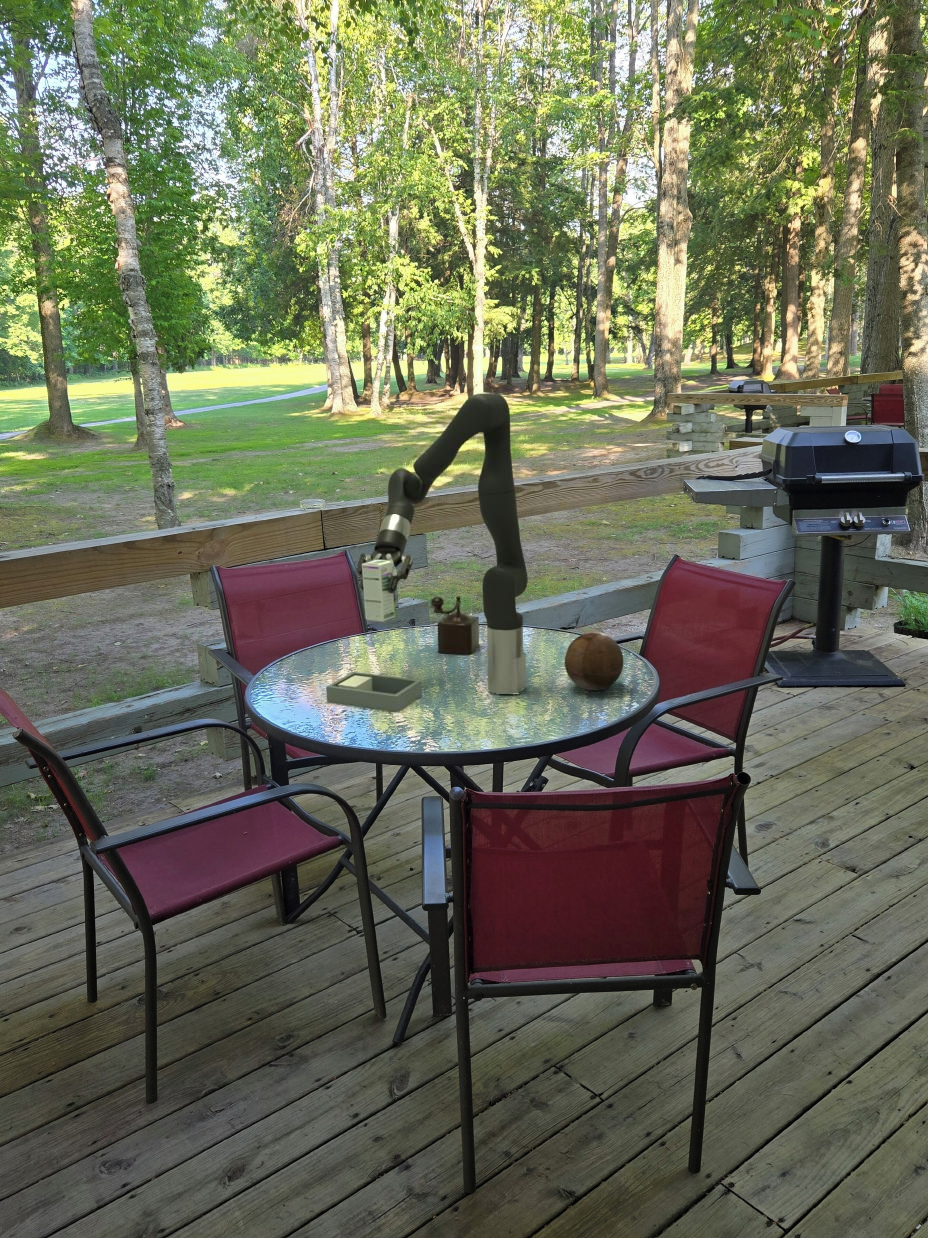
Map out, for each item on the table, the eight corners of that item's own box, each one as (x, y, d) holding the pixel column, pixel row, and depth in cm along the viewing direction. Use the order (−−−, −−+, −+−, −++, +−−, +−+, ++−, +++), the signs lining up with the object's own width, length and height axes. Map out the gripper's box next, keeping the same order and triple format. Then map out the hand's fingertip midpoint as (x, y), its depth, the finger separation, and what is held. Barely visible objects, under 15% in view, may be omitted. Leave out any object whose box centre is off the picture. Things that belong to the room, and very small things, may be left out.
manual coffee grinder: (445, 643, 279) (444, 586, 274) (480, 645, 276) (479, 588, 271) (429, 658, 264) (428, 598, 260) (466, 660, 261) (465, 599, 257)
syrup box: (383, 622, 223) (380, 564, 220) (364, 619, 226) (361, 562, 223) (397, 617, 228) (394, 560, 224) (378, 614, 231) (375, 558, 227)
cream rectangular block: (372, 692, 232) (371, 677, 231) (356, 702, 225) (355, 686, 224) (355, 690, 234) (355, 675, 233) (339, 699, 227) (338, 684, 226)
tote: (422, 699, 229) (421, 680, 228) (397, 716, 218) (396, 696, 217) (354, 689, 238) (353, 671, 236) (327, 705, 226) (326, 686, 225)
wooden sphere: (631, 685, 237) (633, 630, 233) (607, 702, 225) (609, 644, 221) (580, 676, 245) (581, 623, 241) (554, 692, 233) (554, 636, 229)
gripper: (362, 527, 231) (345, 581, 223) (414, 528, 226) (398, 583, 218) (372, 544, 237) (355, 597, 229) (423, 545, 232) (408, 600, 224)
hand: (376, 590), depth 224 cm, fingers closed on syrup box, 6 cm apart
